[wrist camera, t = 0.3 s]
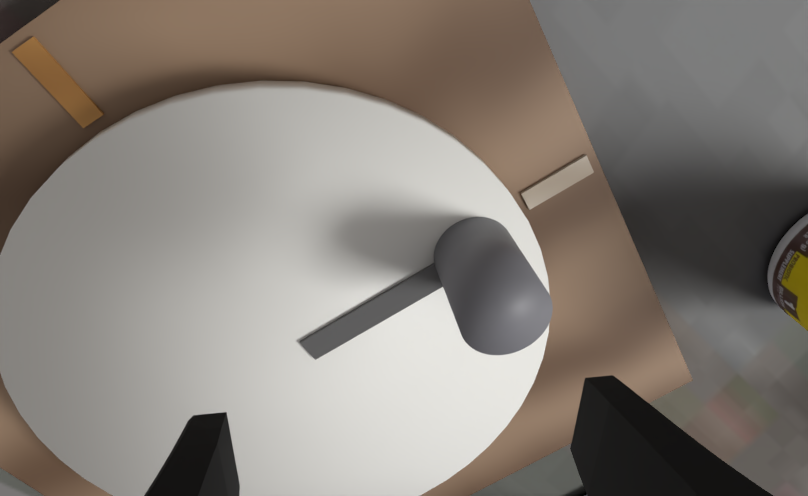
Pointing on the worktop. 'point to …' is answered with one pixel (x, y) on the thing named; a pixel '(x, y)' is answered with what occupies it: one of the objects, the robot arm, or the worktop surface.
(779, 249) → the supplement bottle
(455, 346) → the dial
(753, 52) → the worktop surface
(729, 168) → the worktop surface
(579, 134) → the dial board
